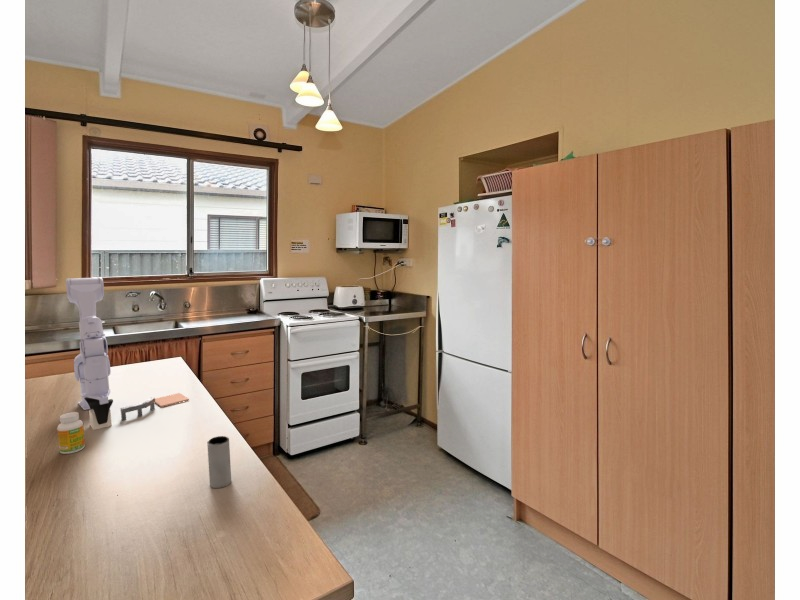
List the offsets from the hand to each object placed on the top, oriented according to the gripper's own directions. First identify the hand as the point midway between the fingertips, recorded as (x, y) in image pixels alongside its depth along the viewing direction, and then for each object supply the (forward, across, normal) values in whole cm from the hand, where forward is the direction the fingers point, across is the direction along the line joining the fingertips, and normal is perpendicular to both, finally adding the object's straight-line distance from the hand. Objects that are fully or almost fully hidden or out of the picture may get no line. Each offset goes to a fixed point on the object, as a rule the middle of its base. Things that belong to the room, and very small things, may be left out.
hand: (100, 421), depth 128 cm
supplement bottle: (+2, +13, -9) cm, 16 cm away
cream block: (+1, 0, 0) cm, 1 cm away
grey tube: (+2, +58, +11) cm, 59 cm away
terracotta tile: (+1, -7, +22) cm, 23 cm away
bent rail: (+1, -2, +11) cm, 11 cm away
